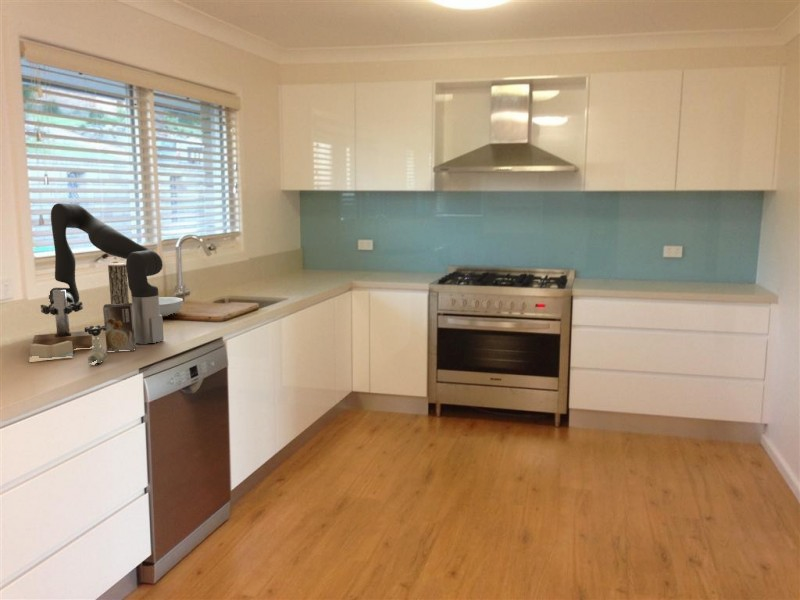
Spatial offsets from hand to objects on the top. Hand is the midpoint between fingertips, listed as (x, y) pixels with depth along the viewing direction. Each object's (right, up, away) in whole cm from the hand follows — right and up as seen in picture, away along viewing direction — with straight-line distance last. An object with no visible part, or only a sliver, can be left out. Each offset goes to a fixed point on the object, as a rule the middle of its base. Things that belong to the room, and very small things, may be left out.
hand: (60, 311), depth 234 cm
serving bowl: (+11, -3, +63) cm, 64 cm away
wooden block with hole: (-1, -13, +5) cm, 14 cm away
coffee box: (+19, -14, +4) cm, 24 cm away
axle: (-1, -10, +4) cm, 11 cm away
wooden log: (+2, -6, +45) cm, 46 cm away
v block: (0, -15, -5) cm, 16 cm away
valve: (+19, -17, -14) cm, 29 cm away
